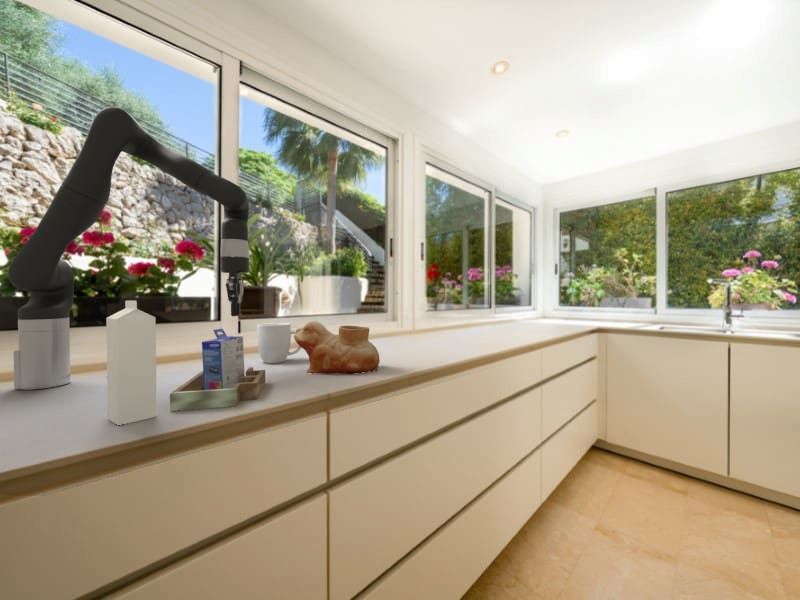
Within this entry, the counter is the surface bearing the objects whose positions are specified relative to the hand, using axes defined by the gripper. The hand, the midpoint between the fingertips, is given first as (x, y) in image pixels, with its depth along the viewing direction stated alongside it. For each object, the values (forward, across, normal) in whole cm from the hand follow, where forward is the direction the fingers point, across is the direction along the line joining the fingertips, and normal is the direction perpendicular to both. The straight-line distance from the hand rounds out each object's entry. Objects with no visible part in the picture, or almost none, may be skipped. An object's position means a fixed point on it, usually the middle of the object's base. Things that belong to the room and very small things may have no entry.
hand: (235, 315), depth 102 cm
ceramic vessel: (+17, +2, +29) cm, 34 cm away
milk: (+17, +35, -11) cm, 41 cm away
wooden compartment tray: (+17, +21, +2) cm, 27 cm away
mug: (+17, -17, +10) cm, 26 cm away
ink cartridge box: (+17, +14, 0) cm, 23 cm away
